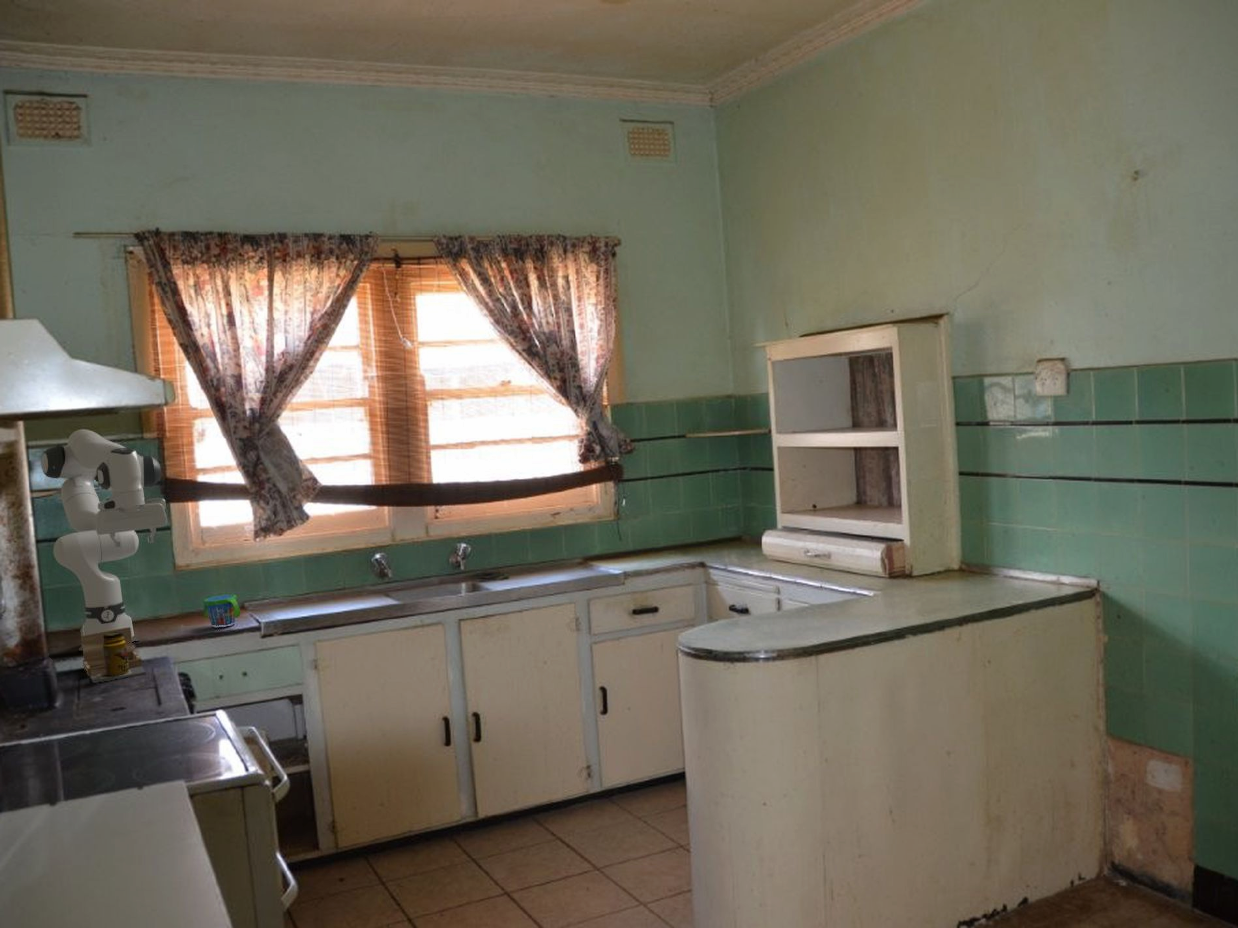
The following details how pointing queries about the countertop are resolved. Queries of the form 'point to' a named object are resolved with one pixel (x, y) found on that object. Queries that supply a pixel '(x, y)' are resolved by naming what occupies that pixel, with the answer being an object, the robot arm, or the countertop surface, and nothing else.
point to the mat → (134, 671)
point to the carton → (96, 653)
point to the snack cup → (221, 609)
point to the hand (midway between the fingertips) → (134, 545)
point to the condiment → (115, 656)
